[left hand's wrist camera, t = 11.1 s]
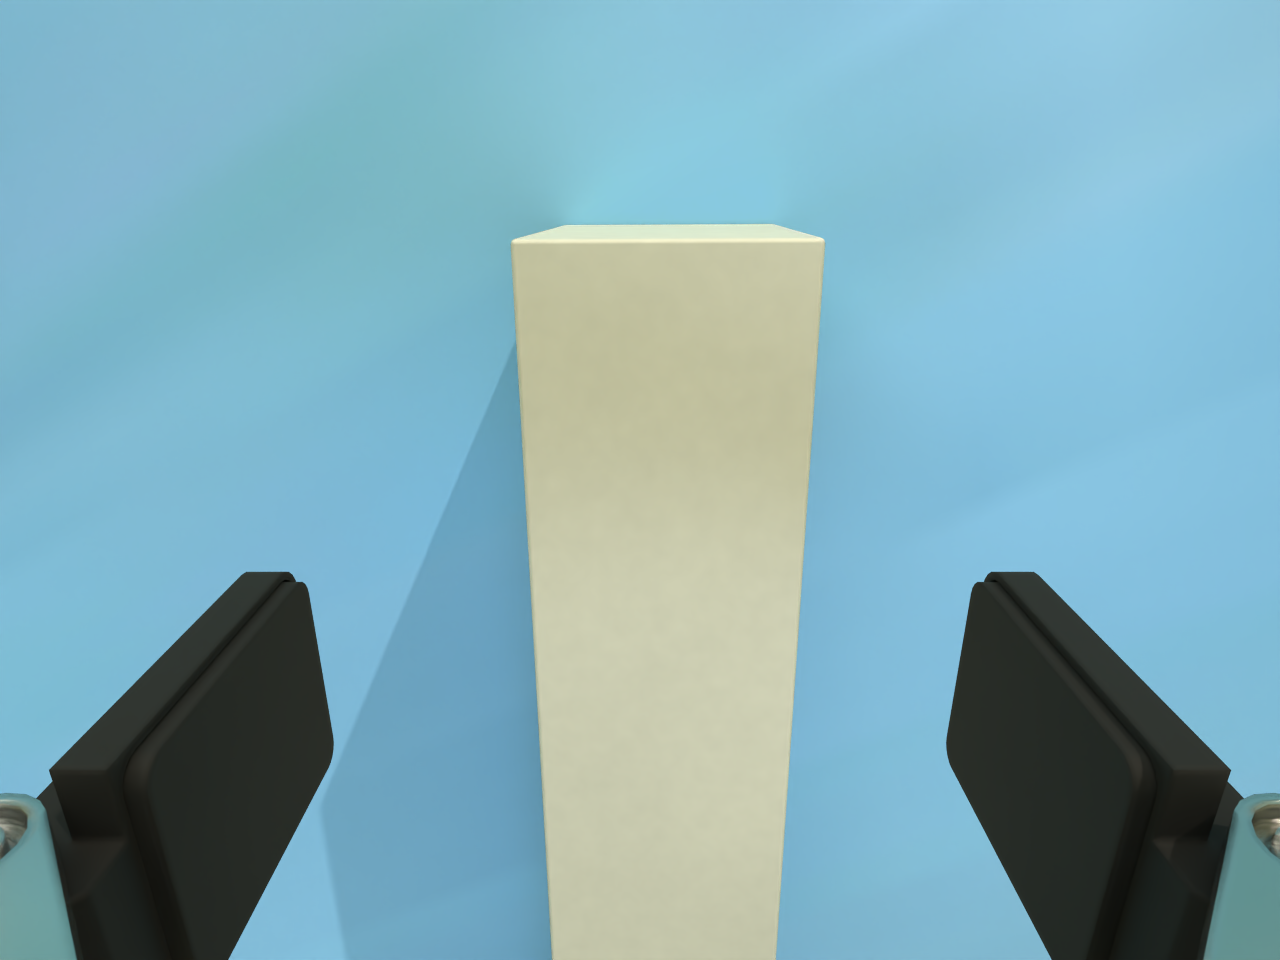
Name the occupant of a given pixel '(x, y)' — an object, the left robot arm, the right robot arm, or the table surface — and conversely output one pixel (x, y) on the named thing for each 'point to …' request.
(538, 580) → the block
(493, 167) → the table surface
